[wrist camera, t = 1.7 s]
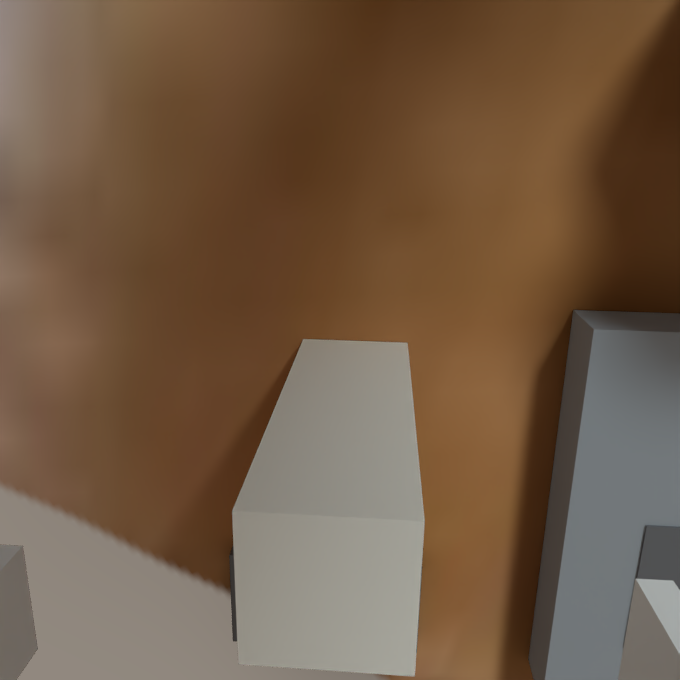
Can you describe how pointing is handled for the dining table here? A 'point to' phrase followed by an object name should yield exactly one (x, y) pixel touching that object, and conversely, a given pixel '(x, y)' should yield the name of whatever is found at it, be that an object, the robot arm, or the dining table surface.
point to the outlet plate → (609, 490)
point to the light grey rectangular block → (333, 517)
